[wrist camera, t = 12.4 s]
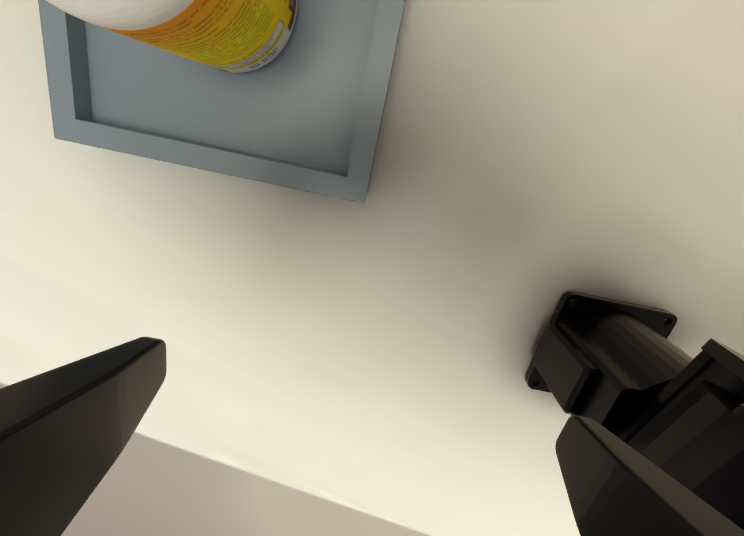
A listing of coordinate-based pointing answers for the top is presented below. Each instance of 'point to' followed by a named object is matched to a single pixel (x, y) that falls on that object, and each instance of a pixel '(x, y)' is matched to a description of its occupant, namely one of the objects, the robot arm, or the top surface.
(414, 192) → the top surface
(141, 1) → the supplement bottle
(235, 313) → the top surface
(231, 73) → the tray
